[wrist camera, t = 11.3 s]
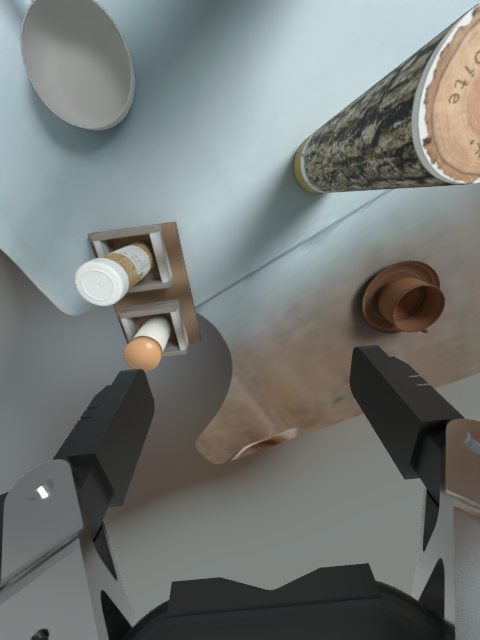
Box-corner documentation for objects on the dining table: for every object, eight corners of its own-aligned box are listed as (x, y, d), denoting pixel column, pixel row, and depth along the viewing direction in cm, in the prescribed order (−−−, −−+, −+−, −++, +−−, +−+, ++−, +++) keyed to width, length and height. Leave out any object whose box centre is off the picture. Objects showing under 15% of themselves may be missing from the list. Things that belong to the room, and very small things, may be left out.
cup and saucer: (446, 282, 42) (480, 295, 36) (392, 338, 46) (415, 358, 40) (395, 243, 39) (422, 250, 33) (342, 306, 43) (358, 323, 37)
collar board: (91, 233, 36) (75, 236, 32) (175, 221, 36) (169, 224, 32) (132, 348, 44) (123, 361, 41) (201, 339, 44) (198, 352, 40)
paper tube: (352, 172, 34) (591, 121, 12) (307, 204, 36) (442, 213, 13) (330, 119, 32) (579, -76, 9) (283, 156, 33) (396, 66, 11)
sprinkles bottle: (136, 277, 38) (91, 314, 26) (118, 248, 36) (62, 273, 24) (163, 265, 37) (131, 297, 25) (147, 235, 36) (104, 253, 23)
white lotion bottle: (140, 314, 41) (118, 343, 32) (169, 311, 40) (154, 339, 32) (149, 340, 43) (129, 373, 34) (176, 336, 42) (163, 369, 34)
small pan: (90, 154, 32) (73, 148, 29) (-38, -36, 25) (-80, -73, 22) (160, 103, 31) (151, 91, 27) (44, -116, 24) (12, -171, 20)
